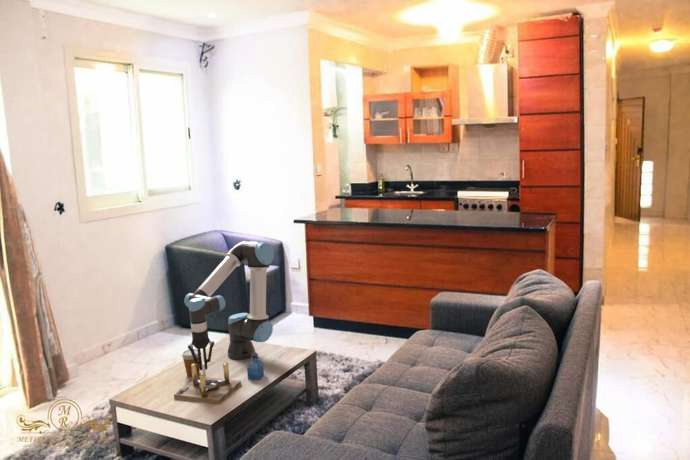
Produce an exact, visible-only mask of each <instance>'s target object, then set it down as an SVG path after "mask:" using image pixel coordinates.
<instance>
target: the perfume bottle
mask: <svg viewBox="0 0 690 460" xmlns="http://www.w3.org/2000/svg"><path fill="white" fill-rule="evenodd" d="M250 358H251V361H250V362H249V364H248V366H247V368H246V369H247V379H248V380H251V381H260V380H262V379H263V377H264V376H265V371H264V362H262V360H261V359H259V355H258V353H255V354H252V356H251V357H250Z"/></svg>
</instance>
